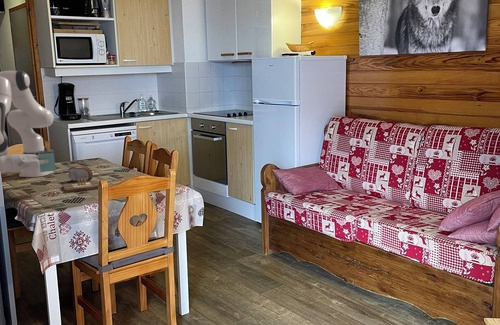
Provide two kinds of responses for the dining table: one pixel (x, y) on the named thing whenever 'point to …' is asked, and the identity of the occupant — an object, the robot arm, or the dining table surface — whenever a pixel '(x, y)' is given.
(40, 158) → the housing
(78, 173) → the tin
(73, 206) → the dining table surface
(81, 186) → the pin board
